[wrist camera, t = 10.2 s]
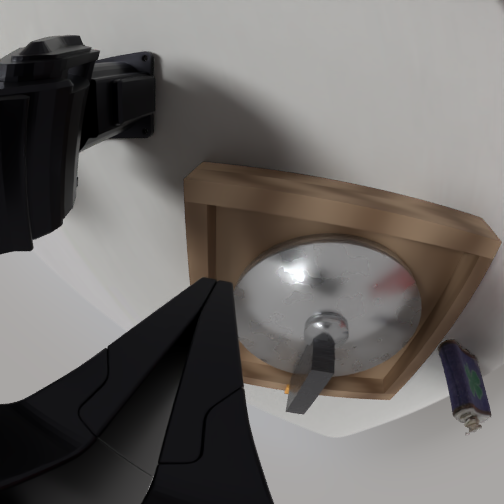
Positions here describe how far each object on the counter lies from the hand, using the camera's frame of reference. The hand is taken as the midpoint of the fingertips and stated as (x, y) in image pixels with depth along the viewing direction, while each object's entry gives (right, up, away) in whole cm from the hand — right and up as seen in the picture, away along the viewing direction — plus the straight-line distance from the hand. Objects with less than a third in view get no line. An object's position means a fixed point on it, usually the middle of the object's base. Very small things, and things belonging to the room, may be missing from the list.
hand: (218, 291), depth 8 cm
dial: (+7, -5, +16) cm, 18 cm away
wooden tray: (+8, -3, +17) cm, 19 cm away
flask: (+26, -11, +18) cm, 33 cm away
